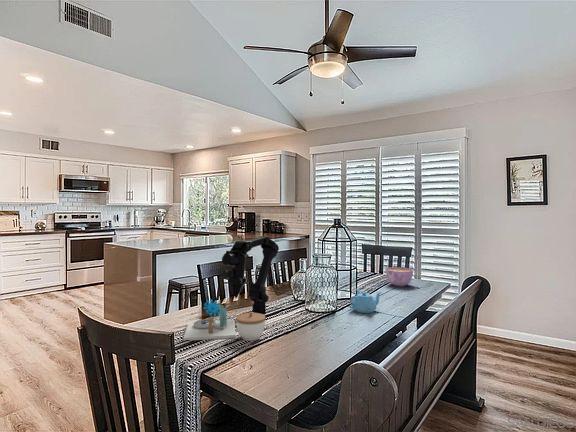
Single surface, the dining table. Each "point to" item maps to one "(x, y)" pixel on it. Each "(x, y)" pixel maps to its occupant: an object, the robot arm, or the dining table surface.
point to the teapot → (364, 302)
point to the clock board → (206, 335)
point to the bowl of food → (399, 275)
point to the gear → (212, 307)
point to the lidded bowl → (250, 325)
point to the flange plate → (223, 321)
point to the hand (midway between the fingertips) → (235, 297)
